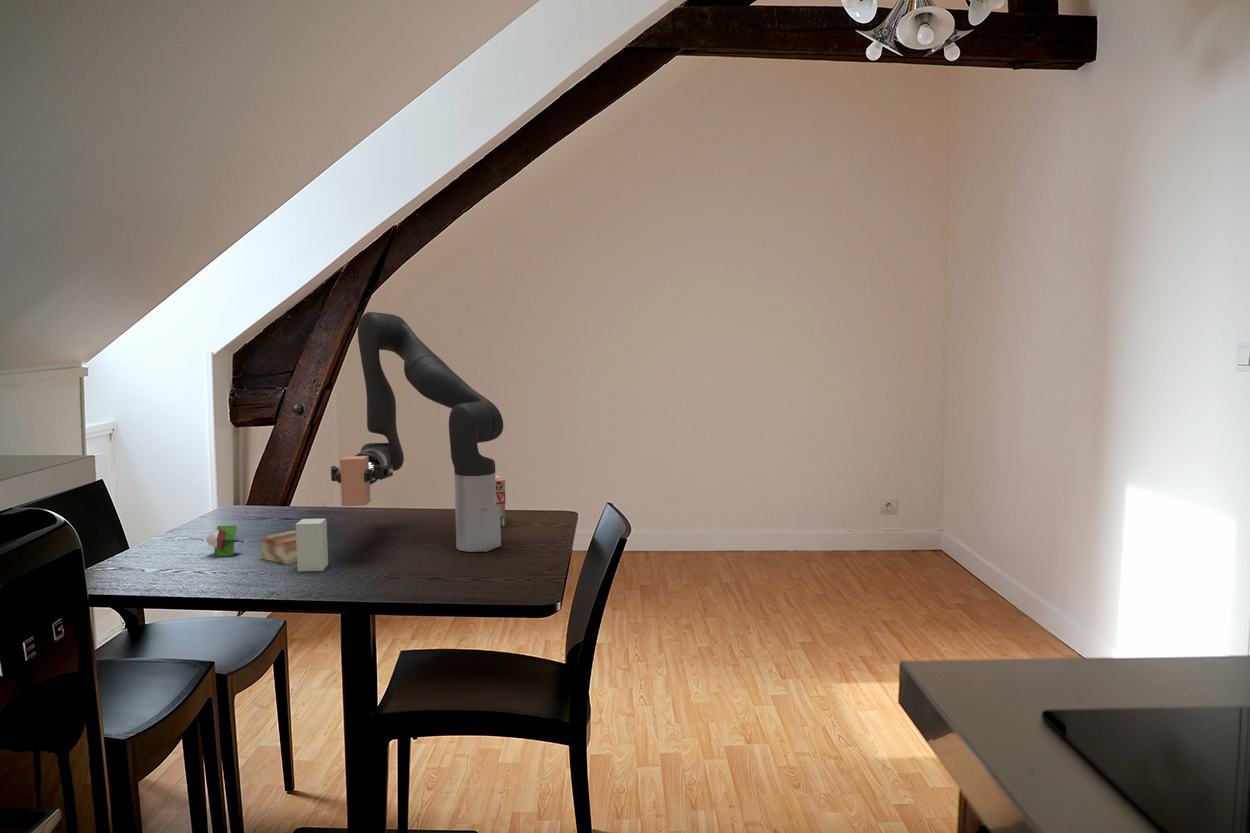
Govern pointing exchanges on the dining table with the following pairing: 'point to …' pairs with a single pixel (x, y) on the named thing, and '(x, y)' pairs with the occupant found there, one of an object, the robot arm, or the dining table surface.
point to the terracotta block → (354, 481)
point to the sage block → (311, 544)
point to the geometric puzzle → (223, 540)
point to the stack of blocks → (501, 498)
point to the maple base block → (280, 547)
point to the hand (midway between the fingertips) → (352, 477)
